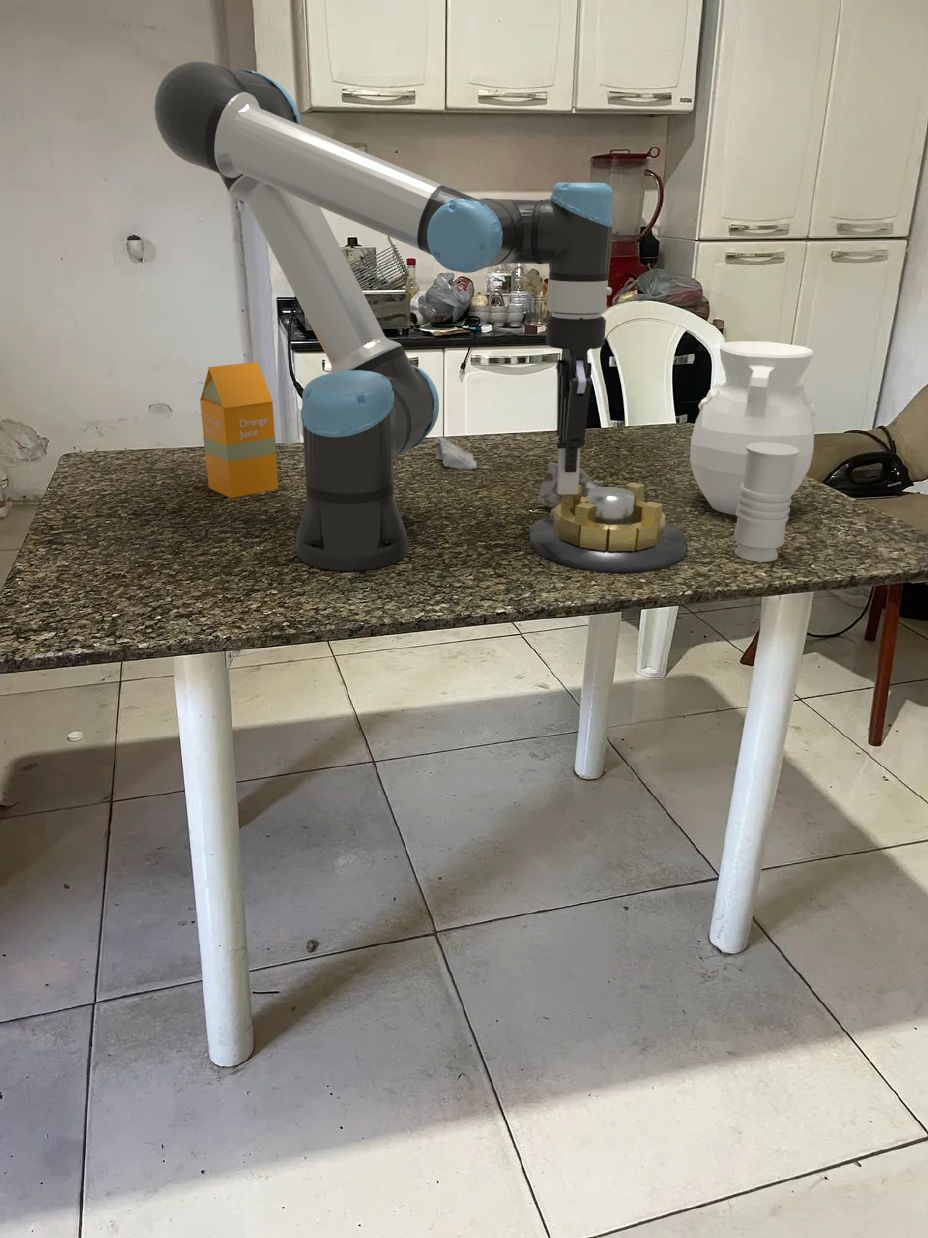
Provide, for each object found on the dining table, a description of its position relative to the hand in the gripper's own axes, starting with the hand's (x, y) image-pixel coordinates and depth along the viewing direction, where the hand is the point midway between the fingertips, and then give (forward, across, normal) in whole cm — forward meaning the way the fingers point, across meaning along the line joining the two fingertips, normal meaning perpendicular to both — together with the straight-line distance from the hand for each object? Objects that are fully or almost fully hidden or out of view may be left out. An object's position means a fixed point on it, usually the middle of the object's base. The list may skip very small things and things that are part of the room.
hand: (567, 492), depth 131 cm
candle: (+8, -4, -26) cm, 28 cm away
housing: (+8, 0, -6) cm, 10 cm away
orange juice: (+7, +28, +49) cm, 57 cm away
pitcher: (+8, +17, -32) cm, 37 cm away
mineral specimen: (+8, +44, +13) cm, 47 cm away
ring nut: (+6, 0, -6) cm, 9 cm away
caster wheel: (+8, +18, -6) cm, 21 cm away
